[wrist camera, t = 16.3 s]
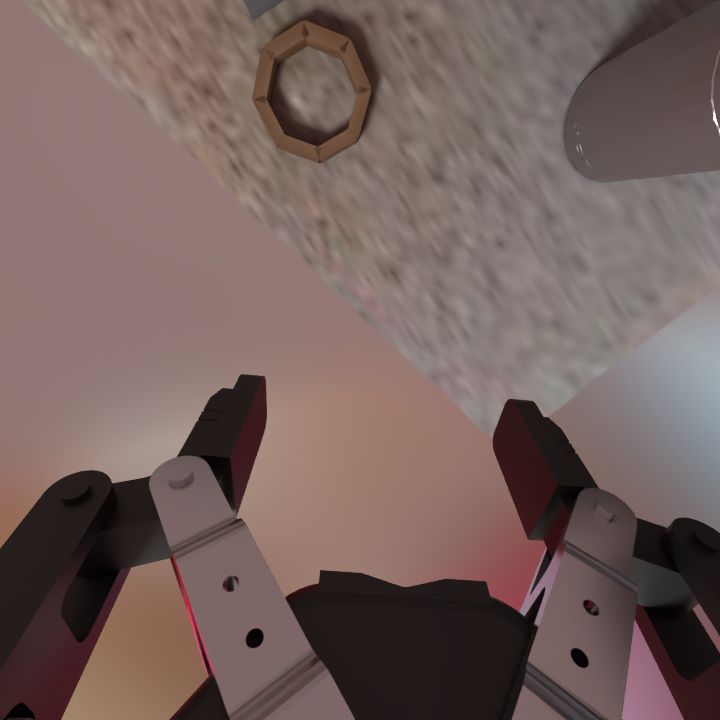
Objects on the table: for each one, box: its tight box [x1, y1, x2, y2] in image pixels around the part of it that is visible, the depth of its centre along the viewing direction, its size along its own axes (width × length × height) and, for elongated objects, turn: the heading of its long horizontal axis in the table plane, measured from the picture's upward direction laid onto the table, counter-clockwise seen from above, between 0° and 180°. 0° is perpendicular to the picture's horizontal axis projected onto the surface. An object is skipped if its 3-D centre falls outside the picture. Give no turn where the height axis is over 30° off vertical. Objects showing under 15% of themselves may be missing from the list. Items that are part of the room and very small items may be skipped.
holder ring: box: [252, 20, 372, 163], centre depth 30 cm, size 9×9×2 cm
